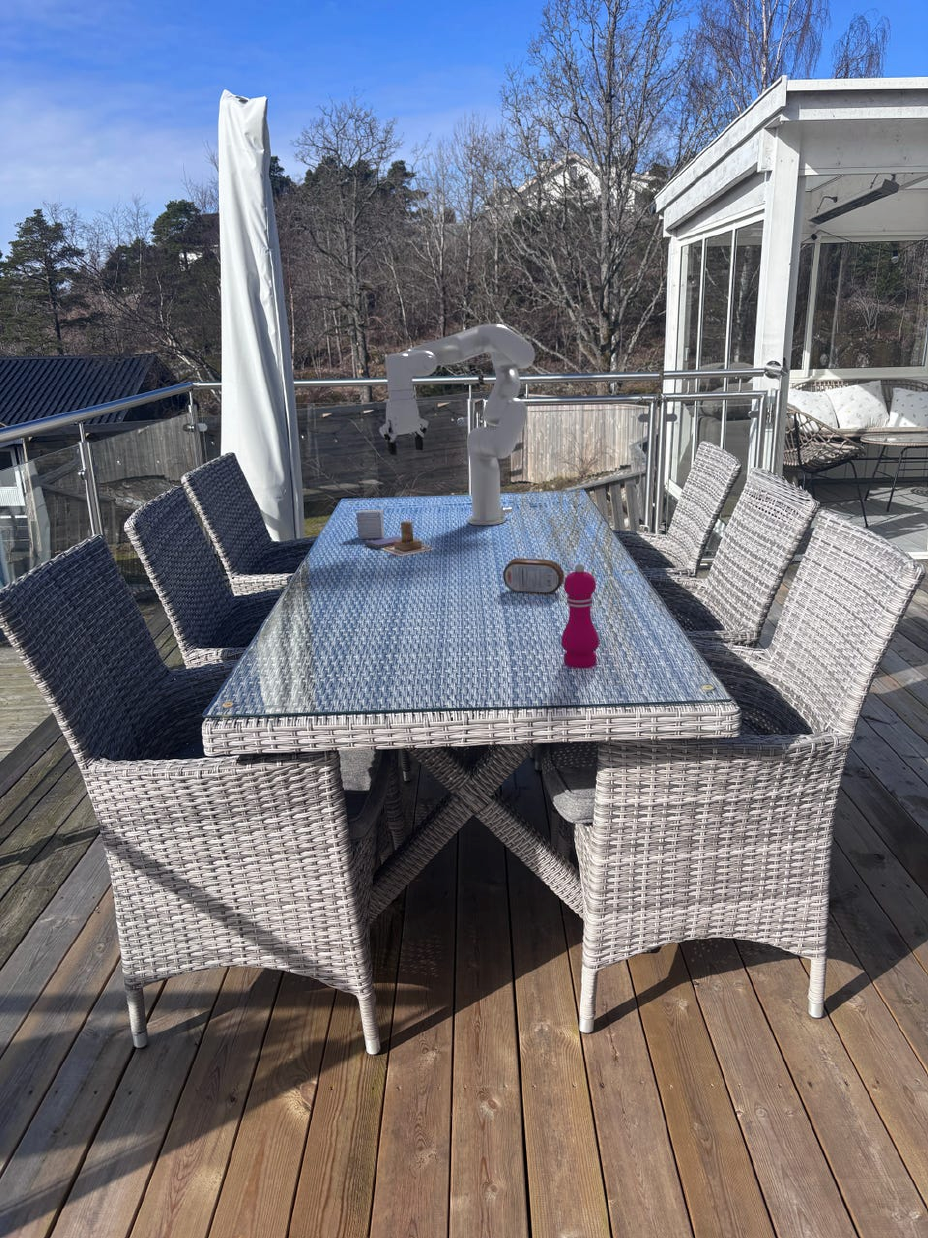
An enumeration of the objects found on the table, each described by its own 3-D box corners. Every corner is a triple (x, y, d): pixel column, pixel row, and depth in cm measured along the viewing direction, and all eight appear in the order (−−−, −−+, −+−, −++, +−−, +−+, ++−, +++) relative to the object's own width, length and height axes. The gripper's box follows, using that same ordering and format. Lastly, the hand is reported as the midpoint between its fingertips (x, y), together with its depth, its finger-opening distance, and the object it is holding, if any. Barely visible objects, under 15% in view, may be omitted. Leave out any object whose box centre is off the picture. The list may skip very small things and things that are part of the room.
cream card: (414, 542, 277) (414, 541, 277) (435, 549, 268) (435, 547, 267) (380, 549, 271) (380, 547, 271) (400, 556, 261) (400, 554, 261)
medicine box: (385, 535, 289) (383, 509, 286) (382, 538, 285) (380, 512, 282) (361, 536, 290) (358, 509, 287) (358, 539, 286) (356, 512, 283)
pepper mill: (558, 657, 177) (557, 560, 171) (594, 655, 177) (594, 557, 171) (565, 671, 170) (564, 569, 164) (602, 668, 171) (603, 567, 164)
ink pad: (398, 539, 283) (398, 535, 283) (411, 543, 277) (410, 539, 277) (364, 545, 277) (364, 541, 277) (377, 549, 271) (376, 545, 270)
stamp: (411, 545, 273) (409, 519, 271) (421, 548, 268) (420, 522, 266) (394, 548, 270) (392, 522, 267) (404, 551, 265) (402, 525, 263)
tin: (564, 592, 220) (564, 559, 217) (561, 596, 217) (561, 562, 214) (505, 589, 225) (504, 556, 222) (502, 592, 222) (501, 560, 219)
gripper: (418, 392, 278) (422, 447, 283) (370, 398, 268) (376, 455, 274) (431, 392, 272) (436, 449, 278) (383, 399, 263) (389, 457, 268)
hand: (406, 452), depth 276 cm, fingers open, 9 cm apart
